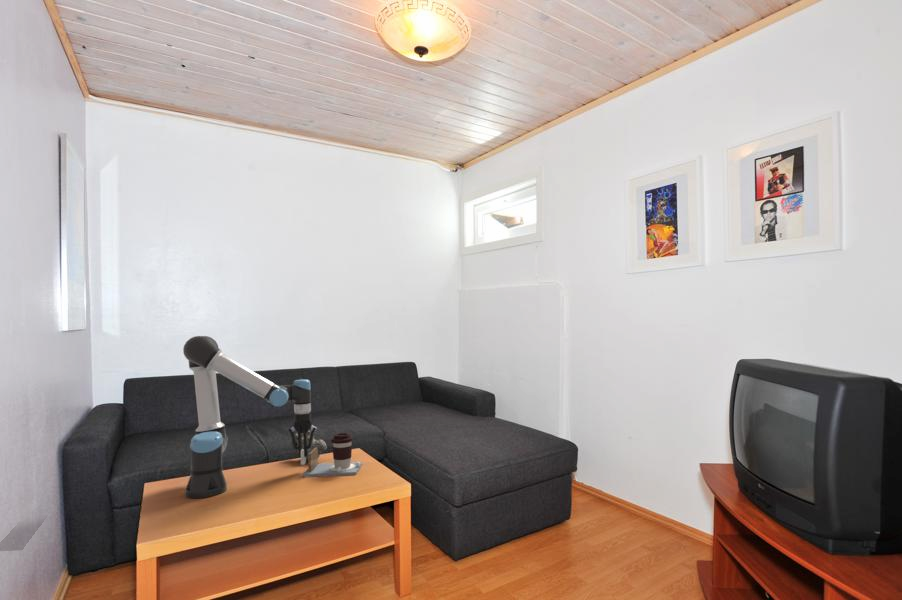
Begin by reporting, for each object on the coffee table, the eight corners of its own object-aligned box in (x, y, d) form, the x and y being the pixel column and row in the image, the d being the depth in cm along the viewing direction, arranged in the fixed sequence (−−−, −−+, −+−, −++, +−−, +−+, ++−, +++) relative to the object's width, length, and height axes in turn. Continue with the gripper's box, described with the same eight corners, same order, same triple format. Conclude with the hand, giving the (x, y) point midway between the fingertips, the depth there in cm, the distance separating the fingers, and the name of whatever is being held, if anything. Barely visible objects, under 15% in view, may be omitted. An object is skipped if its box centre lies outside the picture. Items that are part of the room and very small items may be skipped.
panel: (304, 471, 210) (304, 454, 211) (311, 464, 222) (311, 447, 223) (311, 471, 210) (310, 453, 211) (317, 464, 222) (317, 447, 223)
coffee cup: (327, 469, 214) (326, 436, 215) (340, 463, 223) (339, 431, 224) (344, 470, 210) (344, 437, 211) (357, 464, 219) (357, 432, 220)
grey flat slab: (302, 477, 207) (302, 469, 208) (312, 466, 224) (312, 459, 225) (356, 474, 208) (356, 467, 209) (362, 464, 225) (362, 457, 226)
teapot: (332, 459, 237) (332, 429, 238) (318, 465, 226) (318, 433, 227) (299, 456, 245) (299, 427, 246) (284, 461, 234) (284, 431, 236)
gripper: (286, 414, 214) (286, 466, 212) (314, 413, 214) (315, 465, 213) (291, 412, 221) (291, 462, 220) (318, 410, 222) (319, 461, 220)
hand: (303, 463), depth 216 cm, fingers closed
